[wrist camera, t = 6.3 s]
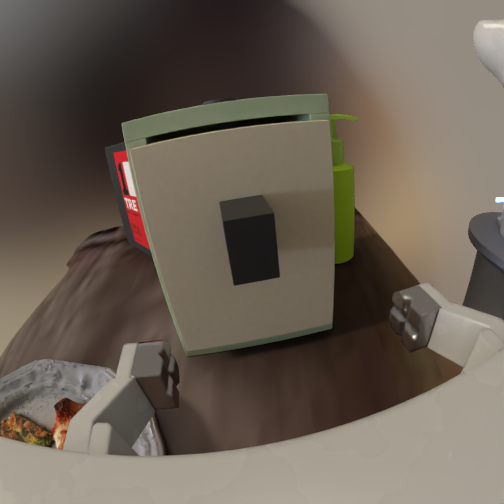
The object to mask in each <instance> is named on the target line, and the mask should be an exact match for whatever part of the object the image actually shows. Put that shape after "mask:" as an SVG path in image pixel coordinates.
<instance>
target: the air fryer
mask: <svg viewBox="0 0 504 504" xmlns="http://www.w3.org/2000/svg"><path fill="white" fill-rule="evenodd" d="M310 120H329V122H330V116H329V105H328V95H327V94H308V95H307V94H306V95H286V96H273V97H261V98H251V99H242V100H238V98H237V97H233V98H224V99H216V100H211V101H206V102H204V103H203V105H201V106H195V107H190V108H185V109H179V110H175V111H170V112H165V113H160V114H156V115H152V116H148V117H144V118H140V119H136V120H132V121H128V122H125V123H122V128H123V135H124V140H125V145H126V151H127V156H128V161H129V165H130V170H131V175H132V179H133V184H134V188H135V192H136V196H137V201H138V205H139V209H140V213H141V216H142V220H143V224H144V228H145V232H146V235H147V239H148V242H149V246H150V249H151V253H152V256H153V260H154V263H155V266H156V270H157V273H158V276H159V279H160V282H161V286H162V289H163V292H164V295H165V298H166V301H167V304H168V307H169V310H170V313H171V315H172V318H173V321H174V324H175V327H176V329H177V332H178V335H179V338H180V340H181V343H182V346H183V348H184V351H185V354H186V356H187V357H188V356H195V355H202V354H209V353H215V352H222V351H228V350H234V349H239V348H245V347H250V346H256V345H261V344H266V343H271V342H276V341H281V340H285V339H290V338H294V337H299V336H303V335H308V334H312V333H316V332H320V331H324V330H328V329H332V323H333V315H332V323H331V324H327V325H323V326H319V327H315V328H310V329H306V330H302V331H297V332H293V333H288V334H283V335H279V336H274V337H269V338H264V339H259V340H253V341H248V342H242V343H237V344H231V345H225V346H219V347H213V348H206V349H200V350H193V351H187V350H186V347H185V344H184V342H183V339H182V336H181V334H180V331H179V328H178V325H177V322H176V319H175V317H174V314H173V311H172V308H171V305H170V302H169V299H168V296H167V293H166V289H165V286H164V283H163V280H162V277H161V273H160V270H159V267H158V264H157V260H156V257H155V253H154V250H153V246H152V243H151V239H150V235H149V232H148V228H147V224H146V220H145V216H144V212H143V208H142V204H141V200H140V196H139V192H138V188H137V183H136V179H135V174H134V169H133V165H132V160H131V155H130V149H132V148H135V147H139V146H143V145H147V144H152V143H156V142H161V141H165V140H170V139H175V138H180V137H185V136H190V135H195V134H201V133H206V132H212V131H219V130H225V129H232V128H239V127H247V126H255V125H263V124H273V123H283V122H296V121H310ZM330 134H331V128H330ZM331 149H332V141H331ZM332 166H333V157H332ZM333 188H334V176H333ZM334 272H335V206H334ZM333 302H334V292H333Z"/></svg>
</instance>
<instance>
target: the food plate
mask: <svg viewBox="0 0 504 504" xmlns="http://www.w3.org/2000/svg"><path fill="white" fill-rule="evenodd" d="M116 374H117V372H116V371H114V370H112V369H110V368H105V367H100V366H94V365H86V364H78V363H74V362H71V363H70V362H66V361H60V360H56V361H54V360H53V359H52V360H50V359H44V360H39V361H34V362H31V363H29V364H27V365H25V366H22V367H20V368H19V369H18V370H16V371H14V372H12V373H11V374H9V375H7V376H4V377H3V378H1V379H0V436H2V437H5V438H9V439H13V440H16V441H21V442H25V443H29V444H34V445H39V446H44V447H50V448H55V449H62V450H63V447H64V443H65V439H66V434H67V431H68V427H69V423H70V420H71V419H72V418H73V417H74V416H75V415H76V414H77V413H78V412H79V411H80V410H81V409H82V408H83V407H84V406H85V405H86V404H87V403H88V402H89V401H90V400H91V399H92V398H93V397H94V396H95V395H96V394H97V393H98V392H99V391H100V390H101V389H102V388H103V387H104V386H105V385H106V384H107V383H108V382H109V381H110V380H111V379H112V378H116ZM132 449H133V450H134V451H135V452H136V453H137V454H138V455H140V456H168V452H167V449H166V444H165V440H164V438H163V435H162V433H161V430H160V427H159V423H158V420H157V416H156V412H155V413H154V415H153V416H152V418H151V419H150V421H149V422H148V424H147V425H146V427H145V428H144V430H143V431H142V433H141V434H140V436H139V437H138V439H137V440H136V442H135V443H134V445H133V446H132Z"/></svg>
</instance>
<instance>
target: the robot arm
mask: <svg viewBox="0 0 504 504" xmlns="http://www.w3.org/2000/svg"><path fill="white" fill-rule="evenodd" d="M473 44H474V48H475V51H476V54H477V56H478V58H479V59H480V61H481V62H482V64H483V65H484V66H485V67H486V69H487V70H488V71H490V72H491V73H492V74H493V75H494V76H495V77H496V78H497V79H498V80H499V81H500V83H501V84H502V85H503V87H504V20H481V21H480V22H478V24H477V25H476V27H475V29H474V33H473ZM496 202H504V197H496ZM496 222H497V224H498V225H499V226H500V233H501V235H502V236H503V238H504V208H503V212H502V216H499V217H498V218H497V221H496ZM392 302H393V304H394V306H393V308H392V309H391V310H390V315H389V321H390V325H391V328H392V330H393V331H394V333H395V334H397V335H399V336H402V338H401V342H402V343H403V345H404V346H405V347H406V349H407V350H408V351H409V353H411V352H413V351H416V350H419V349H421V348H424V347H427V348H429V349H431V350H433V351H435V352H436V353H438V354H440V355H442V356H444V357H445V358H447V359H449V360H451V361H453V362H454V363H456V364H458V365H460V366H462V367H463V369H462V371H461V373H460V375H458V376H456V377H454V378H452V379H451V380H449V381H447V382H445V383H443V384H441V385H439V386H437V387H435V388H433V389H431V390H429V391H427V392H425V393H423V394H421V395H419V396H416V397H414V398H412V399H410V400H408V401H405V402H403V403H401V404H398V405H396V406H394V407H391V408H389V409H386V410H384V411H381V412H378V413H376V414H373V415H370V416H368V417H365V418H362V419H359V420H356V421H353V422H351V423H347V424H344V425H341V426H338V427H335V428H331V429H328V430H325V431H321V432H318V433H314V434H310V435H306V436H302V437H298V438H294V439H290V440H285V441H281V442H276V443H271V444H266V445H261V446H255V447H249V448H243V449H236V450H228V451H220V452H211V453H201V454H188V455H168V456H140V455H138V454H137V453H136V452H135V451H134V450H133V449H132V446H133V445H134V443H135V442H136V440H137V439H138V437H139V436H140V434H141V433H142V431H143V430H144V428H145V427H146V425H147V424H148V422H149V421H150V419H151V418H152V416H153V415H154V413H155V412H156V411H155V410H162V409H172V408H179V391H178V389H177V387H176V386H177V385H178V383H179V368H178V365H177V361H176V359H175V357H174V356H172V355H171V354H170V353H171V347H170V345H169V343H168V341H167V340H158V341H148V342H139V343H128V344H125V345H124V346H123V350H122V354H121V357H120V361H119V365H118V369H117V374H116V378H112V379H111V380H110V381H109V382H108V383H107V384H106V385H105V386H104V387H103V388H102V389H101V390H100V391H99V392H98V393H97V394H96V395H95V396H94V397H93V398H92V399H91V400H90V401H89V402H88V403H87V404H86V405H85V406H84V407H83V408H82V409H81V410H80V411H79V412H78V413H77V414H76V415H75V416H74V417H73V418H72V419H71V420H70V423H69V427H68V431H67V434H66V439H65V443H64V447H63V450H62V449H55V448H50V447H44V446H39V445H34V444H29V443H25V442H21V441H16V440H13V439H9V438H5V437H2V436H0V504H504V321H503V320H502V319H501V318H498V317H495V316H492V315H489V314H486V313H483V312H480V311H477V310H474V309H471V308H468V307H465V306H462V305H459V304H456V303H453V304H451V303H450V302H449V301H448V300H447V299H446V298H445V297H444V296H443V295H442V294H441V293H440V292H439V291H438V290H436V289H435V288H434V287H433V286H432V285H431V284H430V283H427V282H425V283H422V284H419V285H416V286H413V287H410V288H407V289H404V290H400V291H397V292H395V293H394V295H393V298H392Z"/></svg>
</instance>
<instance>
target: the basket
mask: <svg viewBox="0 0 504 504" xmlns="http://www.w3.org/2000/svg"><path fill="white" fill-rule="evenodd" d="M130 155H131V160H132V165H133V169H134V174H135V179H136V183H137V188H138V192H139V196H140V200H141V204H142V208H143V212H144V216H145V220H146V224H147V228H148V232H149V235H150V239H151V243H152V246H153V250H154V253H155V257H156V260H157V264H158V267H159V270H160V273H161V277H162V280H163V283H164V286H165V289H166V293H167V296H168V299H169V302H170V305H171V308H172V311H173V314H174V317H175V319H176V322H177V325H178V328H179V331H180V334H181V336H182V339H183V342H184V344H185V347H186V350H187V351H193V350H200V349H206V348H213V347H219V346H225V345H231V344H237V343H242V342H248V341H253V340H259V339H264V338H269V337H274V336H279V335H283V334H288V333H293V332H297V331H302V330H306V329H310V328H315V327H319V326H323V325H327V324H331V323H332V315H333V292H334V188H333V166H332V149H331V134H330V122H329V120H310V121H296V122H283V123H273V124H263V125H255V126H247V127H239V128H232V129H225V130H219V131H212V132H206V133H201V134H195V135H190V136H185V137H180V138H175V139H170V140H165V141H161V142H156V143H152V144H147V145H143V146H139V147H135V148H132V149H130Z"/></svg>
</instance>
